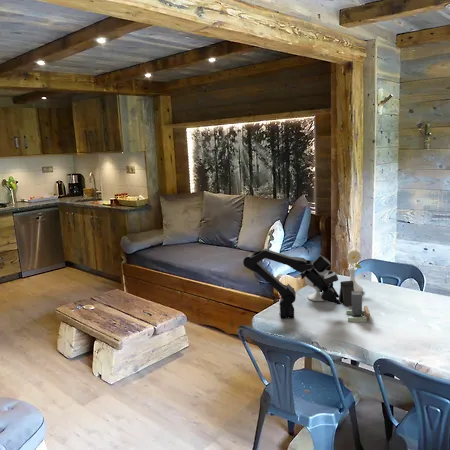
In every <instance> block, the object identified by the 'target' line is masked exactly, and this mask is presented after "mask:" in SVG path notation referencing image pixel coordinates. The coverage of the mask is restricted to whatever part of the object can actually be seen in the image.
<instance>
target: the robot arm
mask: <svg viewBox="0 0 450 450" xmlns="http://www.w3.org/2000/svg"><path fill="white" fill-rule="evenodd" d="M264 259H267V260H270V261H274V262H276V263H280V264H283V265H287V266H288V267H290V268H291V269H293V270H294V271H296V272H299V273H300V278H301V280H303V279H305V277H306V278H307V279H308V280H309V281H310V282H311V283H313V286H314V287H315V286H316V287H317V288H318V289H319V291H320V293H321V298H322V299H323V300H324V301H323V302H328V303H332V304H334V305H338V306H339V305H342V303H340V302H339V294H338V292H337V291H336V289H335V288H334V282H335V283H336V282H337V281H339V277H338V275H337V273H336V272H335V271H333V270H331V269H330V270H327V269H328V268H329V267H330V266H331V265H332V264H331V262H330V260H329V259H328V258H327V257H325V256H323V255H321V254H319V255H318V257H317V258H315V260H309V259H307V258H304V257H301V256H300V257H299V256H289V255H285V254H282V253H279V252H278V251H277V252H276V251H274V250H270V249H267V248H262V249H261V250H258V251H255V252H253V253H247V254H246V255H245V257H244V258H243V262H242V264H243V266H244V267H245V268H246V269H248V270H250V271H251V272H254V273H256V274H257V275H259V276H260V277H261V278H262V279H263V280H264V281H265V282H266V283H268V284H269V285H270V286H271V287H272V288H273V289H274V290H276V291H277V293H278V294H279V296H280V300H279V303H278V305H279V313H278V314H279V317H280V319H281V320H282V319H294V318H295V317H294V316H295V307H294V305H293V304H294V303H295V301H296V300H297V299H296V297H297V293H296V290H295V288H294V287H292V286H291V284H290V283H287V285H286V284H284V283H282V282H281V281H280V280H279V279H278V278H277V277H275V275H273V274H272V273H271V272H270V271H269V270H268V269H267V268H265V266H263V265H262V263H261V261H263V260H264ZM315 269H316V270H317V271H318V272H320V273H321V272H324V271H325V270H327V271H328V275H326V276H323V275H320V274H319V273H318V272H317V271H316V270H315Z"/></svg>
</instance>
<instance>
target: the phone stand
mask: <svg viewBox="0 0 450 450" xmlns="http://www.w3.org/2000/svg"><path fill="white" fill-rule="evenodd" d="M339 284H340V288H339V294H338V295H339V298H338V300H339V302H340V303H341V305H342V306H343V307H345V308H346V307H352V305H351V291H354V283H353V281H350V280H345V281H344V280H343V281H340V283H339Z"/></svg>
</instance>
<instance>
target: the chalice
mask: <svg viewBox="0 0 450 450" xmlns="http://www.w3.org/2000/svg"><path fill="white" fill-rule="evenodd" d="M314 269H315V268H314ZM315 270H316V269H315ZM316 271H317V270H316ZM328 271H329V270H327V269H326V270H325V271H324V272H321V273H320V272H318V271H317V272H318V273H319V274H320V275H323V276H326V275H328ZM304 282H305V284H306V285H308V287H310V288H313V289H314V290H315V293H314V292H313V293H310V294H308V295H307V296H306V298H307V299H308V300H309V301H314V302H325V301H324V300H323V299H322V298H321V293H322V292H320V291H319V289H318V288H317V287H316V286H315V287H314V286H313V283H311V282H310V281H309V280H308V279H307V278H306V277H304Z"/></svg>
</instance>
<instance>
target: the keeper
mask: <svg viewBox="0 0 450 450" xmlns="http://www.w3.org/2000/svg"><path fill="white" fill-rule="evenodd" d="M345 314H346V315H352V309H346V310H345ZM363 315H364V317H363ZM347 322H353V323H354V322H356V323H358V322H359V323H360V322H361V323H362V322H363V323H366V322H367V323H370V322H371V312H370V310H369V306H367V305H364V306H363V309H362V317H352V316H347Z"/></svg>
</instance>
